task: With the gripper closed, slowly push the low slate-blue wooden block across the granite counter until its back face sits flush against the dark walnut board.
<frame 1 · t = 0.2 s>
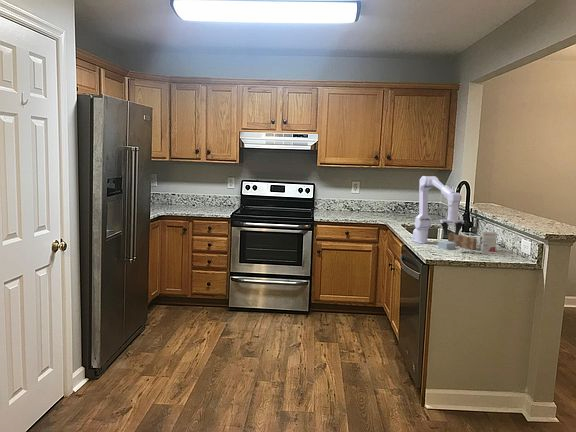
hand: (451, 234, 290), 10 cm above the worktop, tool pointing down, fingers open, 7 cm apart
ink box: (487, 250, 296), on the worktop
walnut board: (461, 246, 304), on the worktop
slate block: (446, 248, 298), on the worktop
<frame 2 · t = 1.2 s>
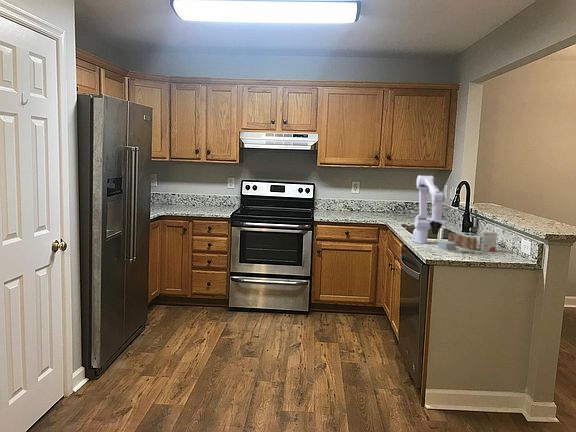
hand: (435, 234, 292), 9 cm above the worktop, tool pointing down, fingers closed
nothing on the worktop moved.
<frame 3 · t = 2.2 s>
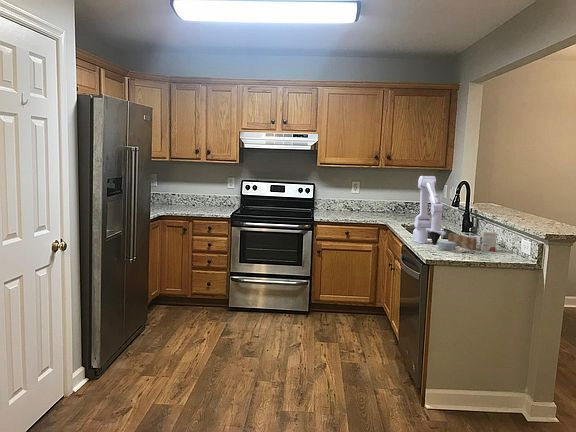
hand: (434, 244, 293), 3 cm above the worktop, tool pointing down, fingers closed
nothing on the worktop moved.
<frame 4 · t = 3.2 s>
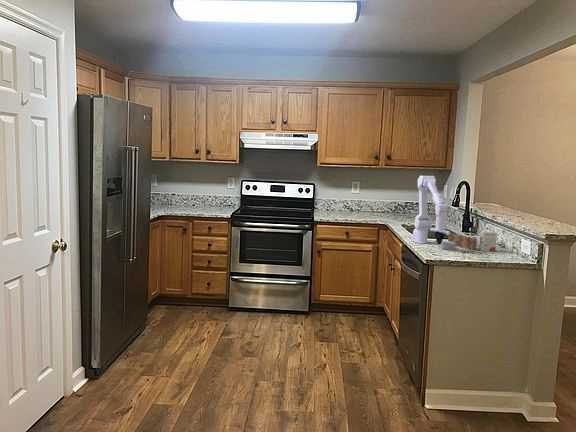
hand: (438, 244, 295), 3 cm above the worktop, tool pointing down, fingers closed
nothing on the worktop moved.
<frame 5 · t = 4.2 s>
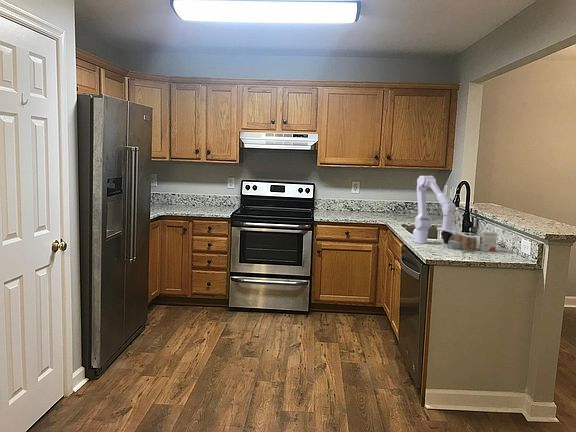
hand: (445, 243, 297), 3 cm above the worktop, tool pointing down, fingers closed
slate block: (451, 247, 300), on the worktop
everything else where it was.
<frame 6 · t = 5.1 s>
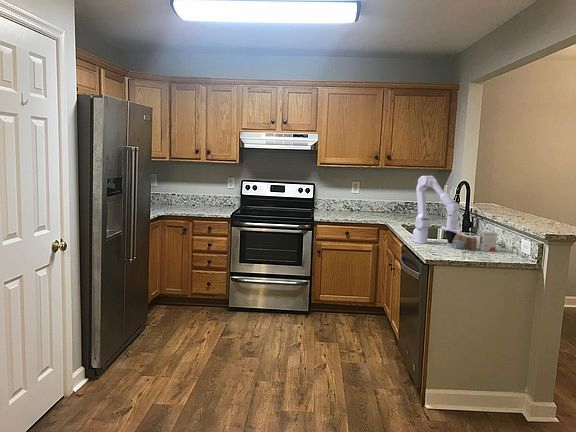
hand: (449, 243, 299), 3 cm above the worktop, tool pointing down, fingers closed, pressing on slate block
slate block: (455, 247, 302), on the worktop, touching gripper, walnut board
everything else where it was.
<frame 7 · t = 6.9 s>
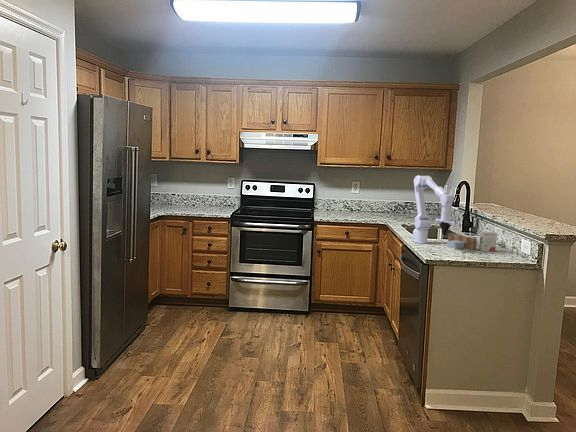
hand: (444, 234, 296), 9 cm above the worktop, tool pointing down, fingers closed
slate block: (455, 247, 302), on the worktop
everything else where it was.
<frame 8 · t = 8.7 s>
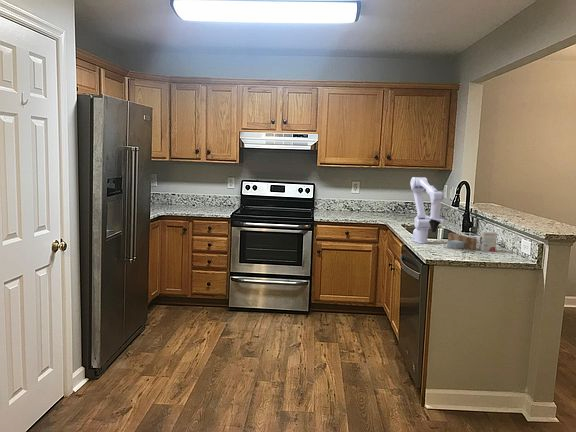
hand: (433, 232, 299), 9 cm above the worktop, tool pointing down, fingers closed
nothing on the worktop moved.
at the end: slate block 0.4 cm from the target spot on the worktop beside the walnut board, on the worktop; slate block tilted 0° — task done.
